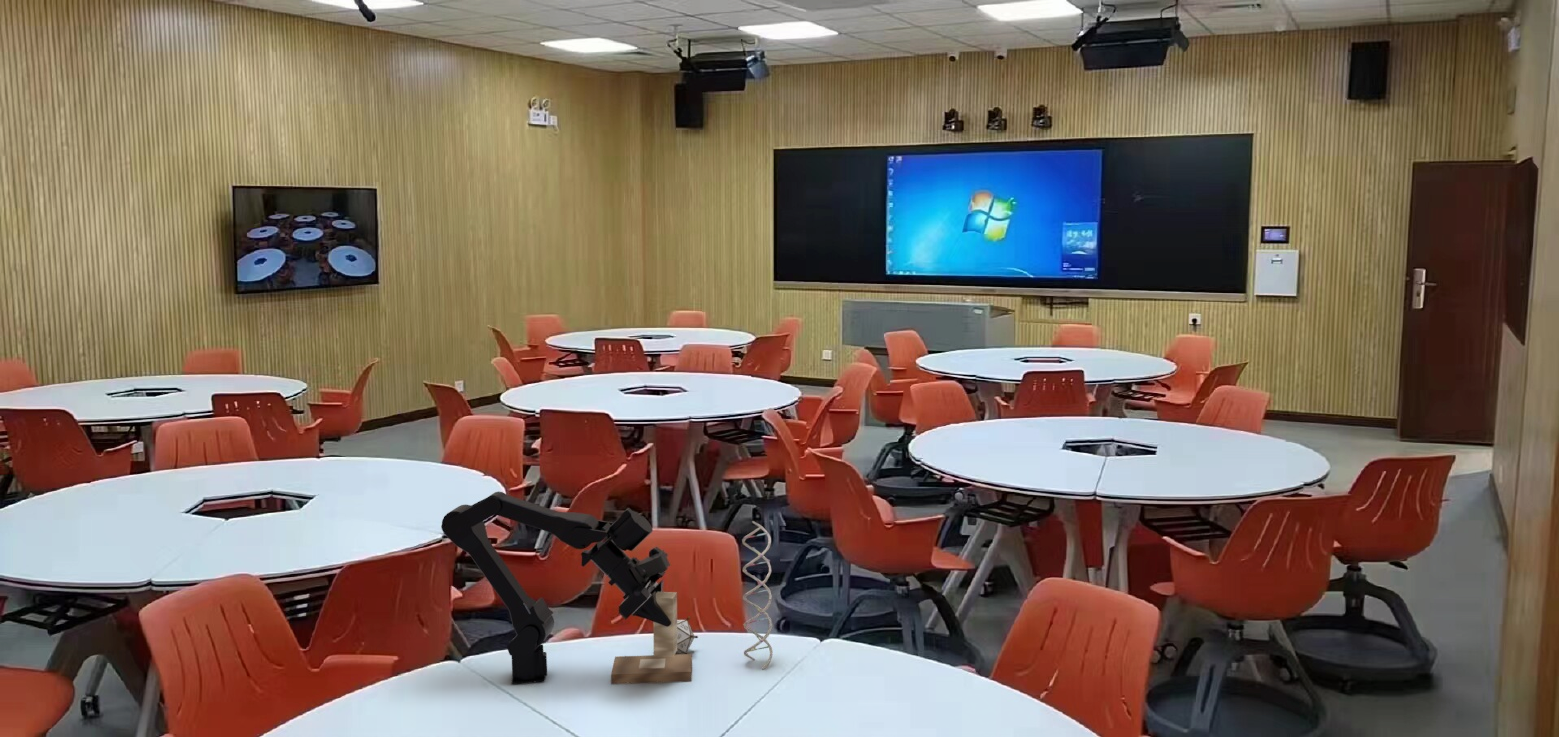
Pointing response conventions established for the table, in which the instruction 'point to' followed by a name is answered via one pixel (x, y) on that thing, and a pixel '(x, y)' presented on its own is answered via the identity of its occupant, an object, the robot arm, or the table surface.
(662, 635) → the maple pillar
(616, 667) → the walnut slab
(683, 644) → the game die
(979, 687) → the table surface
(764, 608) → the dna model
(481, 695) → the table surface
